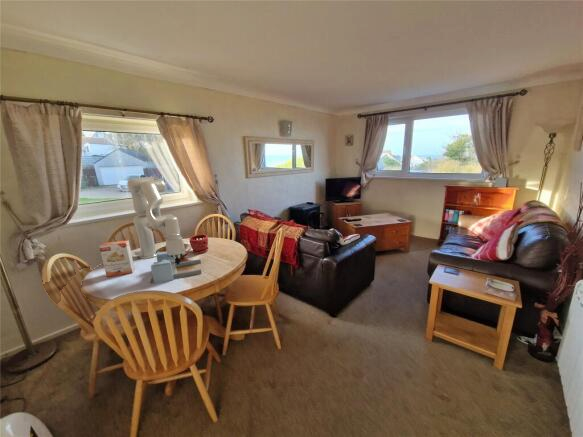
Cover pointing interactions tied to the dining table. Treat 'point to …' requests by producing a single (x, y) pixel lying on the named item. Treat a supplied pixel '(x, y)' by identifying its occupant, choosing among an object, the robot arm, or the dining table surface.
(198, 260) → the grey long bars
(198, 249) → the plant pot
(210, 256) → the dining table surface
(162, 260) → the lumpy-topped squat cylinder
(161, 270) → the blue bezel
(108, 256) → the cracker box
